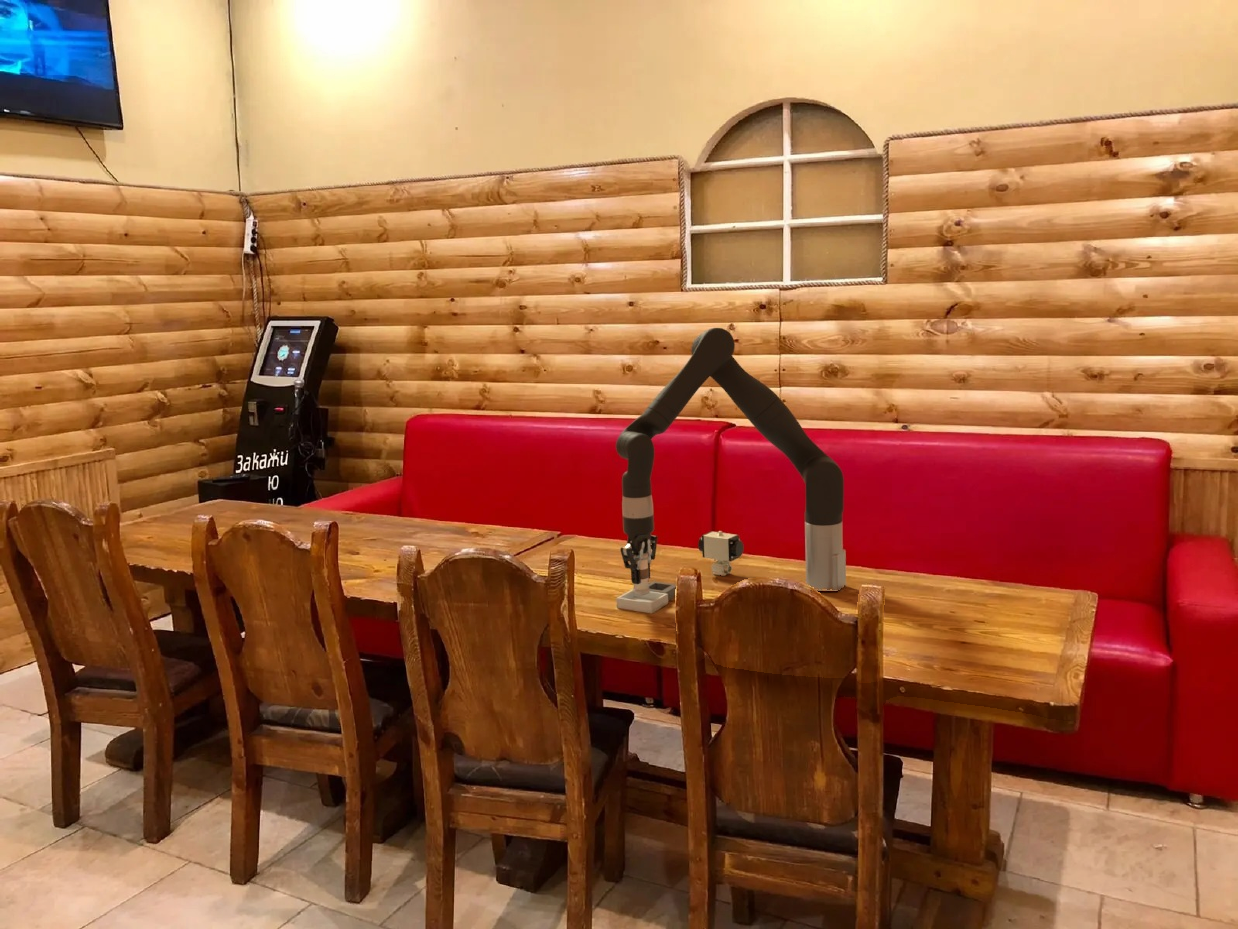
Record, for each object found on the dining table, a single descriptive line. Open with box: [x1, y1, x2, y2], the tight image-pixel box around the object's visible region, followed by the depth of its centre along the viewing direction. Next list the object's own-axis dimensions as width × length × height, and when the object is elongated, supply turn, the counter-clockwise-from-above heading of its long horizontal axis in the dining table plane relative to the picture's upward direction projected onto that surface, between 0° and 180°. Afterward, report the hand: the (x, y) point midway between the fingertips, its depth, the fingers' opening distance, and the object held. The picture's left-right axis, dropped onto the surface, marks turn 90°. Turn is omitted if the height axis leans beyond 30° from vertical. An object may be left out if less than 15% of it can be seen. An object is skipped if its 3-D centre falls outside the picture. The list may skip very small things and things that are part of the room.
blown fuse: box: [632, 552, 650, 595], centre depth 233 cm, size 4×4×10 cm
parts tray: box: [615, 588, 669, 614], centre depth 234 cm, size 10×8×2 cm
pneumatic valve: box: [697, 530, 744, 577], centre depth 255 cm, size 6×12×12 cm, turn 53°
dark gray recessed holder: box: [649, 580, 676, 602], centre depth 240 cm, size 8×7×2 cm
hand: (641, 580), depth 233 cm, fingers closed on blown fuse, 4 cm apart
